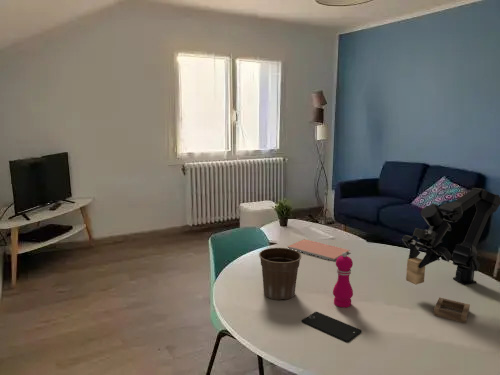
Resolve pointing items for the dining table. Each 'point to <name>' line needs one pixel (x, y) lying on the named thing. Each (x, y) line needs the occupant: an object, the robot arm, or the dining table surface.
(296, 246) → the notebook
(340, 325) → the cell phone
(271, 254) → the plant pot
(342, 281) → the pepper mill
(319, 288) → the dining table surface
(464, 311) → the walnut holder
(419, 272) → the oak block
